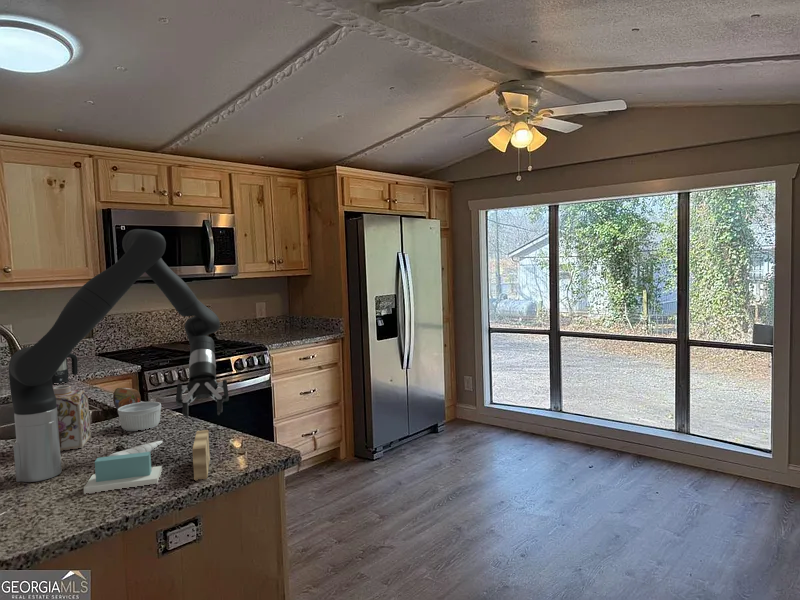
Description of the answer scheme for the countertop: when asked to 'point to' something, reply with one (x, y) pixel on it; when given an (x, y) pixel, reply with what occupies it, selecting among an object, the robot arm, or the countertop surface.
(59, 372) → the milk frother
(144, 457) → the ridge stand
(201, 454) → the wooden beam
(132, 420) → the ramekin
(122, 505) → the countertop surface
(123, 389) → the tin
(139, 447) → the unicorn horn
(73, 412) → the decorative jar
